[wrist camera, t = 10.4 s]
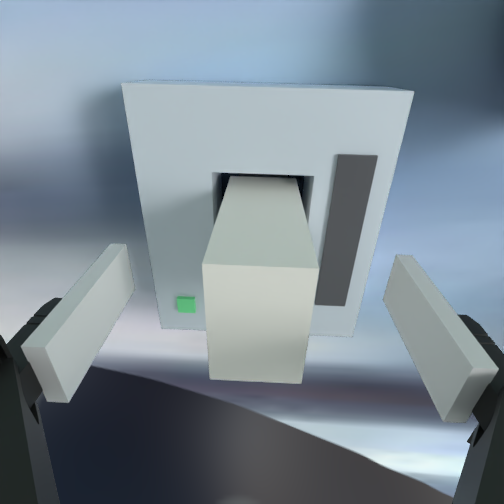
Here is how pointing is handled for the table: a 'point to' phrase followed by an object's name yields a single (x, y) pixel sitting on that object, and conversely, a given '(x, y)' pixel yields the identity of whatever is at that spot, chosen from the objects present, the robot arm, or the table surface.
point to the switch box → (264, 162)
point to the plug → (259, 282)
